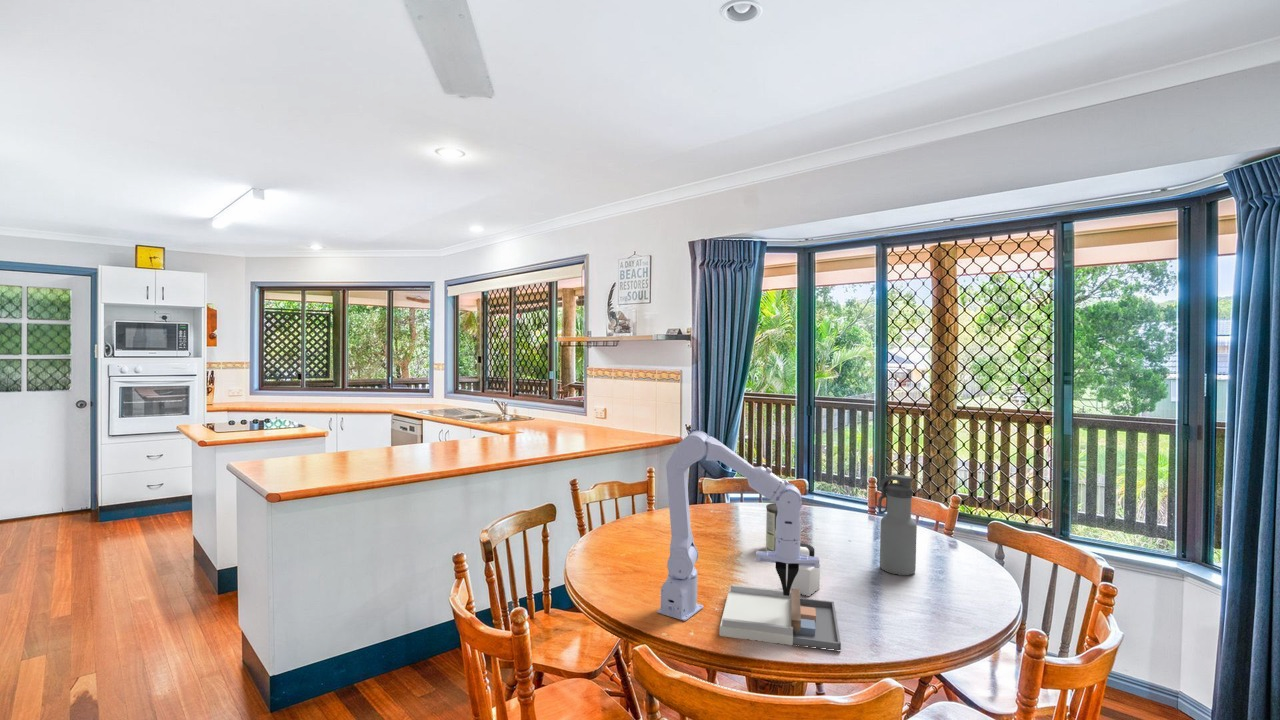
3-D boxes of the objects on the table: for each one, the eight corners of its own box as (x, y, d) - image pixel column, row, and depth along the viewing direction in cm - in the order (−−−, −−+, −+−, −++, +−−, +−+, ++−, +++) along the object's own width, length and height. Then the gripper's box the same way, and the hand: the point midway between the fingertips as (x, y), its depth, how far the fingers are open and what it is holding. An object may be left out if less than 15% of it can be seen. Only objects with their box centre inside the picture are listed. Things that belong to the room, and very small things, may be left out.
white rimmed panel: (719, 635, 135) (719, 620, 135) (729, 596, 156) (729, 583, 156) (792, 645, 131) (793, 629, 131) (792, 604, 152) (792, 590, 152)
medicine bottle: (795, 582, 167) (796, 539, 166) (819, 589, 162) (821, 545, 162) (783, 589, 161) (784, 545, 161) (809, 597, 157) (810, 551, 156)
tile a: (796, 619, 143) (796, 613, 143) (796, 611, 147) (796, 605, 147) (815, 622, 142) (816, 615, 141) (815, 614, 146) (815, 607, 146)
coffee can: (785, 543, 200) (786, 501, 199) (804, 553, 190) (805, 509, 190) (759, 546, 196) (760, 504, 196) (777, 557, 186) (778, 512, 186)
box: (792, 645, 131) (792, 637, 131) (792, 604, 152) (792, 597, 152) (840, 652, 128) (840, 643, 128) (833, 608, 150) (833, 601, 150)
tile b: (794, 633, 136) (794, 626, 136) (794, 624, 140) (794, 617, 140) (815, 635, 135) (815, 629, 135) (814, 626, 139) (814, 620, 139)
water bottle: (872, 569, 177) (875, 475, 177) (886, 561, 184) (888, 471, 184) (907, 579, 170) (910, 481, 170) (920, 570, 177) (923, 476, 176)
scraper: (791, 630, 133) (791, 619, 133) (791, 598, 150) (791, 588, 150) (800, 632, 132) (800, 620, 132) (799, 599, 150) (799, 589, 150)
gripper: (819, 535, 144) (817, 591, 144) (757, 529, 147) (756, 583, 147) (820, 544, 137) (818, 603, 137) (756, 538, 140) (754, 595, 141)
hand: (786, 594), depth 142 cm, fingers closed
